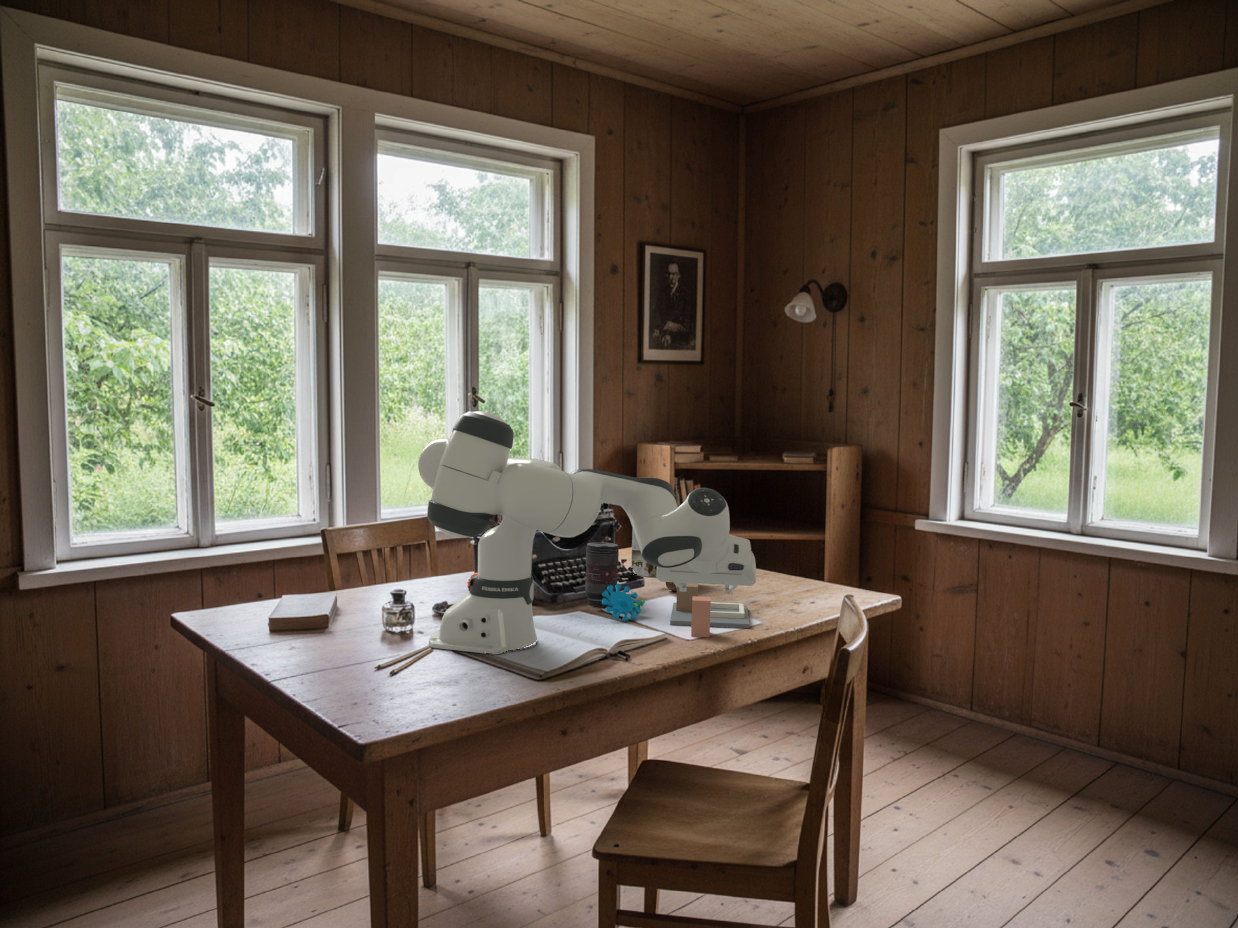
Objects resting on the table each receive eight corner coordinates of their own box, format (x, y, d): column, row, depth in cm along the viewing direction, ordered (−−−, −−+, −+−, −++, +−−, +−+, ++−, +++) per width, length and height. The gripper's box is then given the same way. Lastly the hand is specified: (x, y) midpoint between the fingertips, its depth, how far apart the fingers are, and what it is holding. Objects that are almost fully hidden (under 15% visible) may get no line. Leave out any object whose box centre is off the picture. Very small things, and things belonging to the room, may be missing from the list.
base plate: (670, 624, 214) (670, 594, 213) (673, 606, 231) (674, 578, 231) (749, 628, 212) (750, 598, 211) (746, 609, 230) (747, 581, 229)
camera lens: (621, 606, 231) (623, 546, 229) (590, 608, 228) (591, 547, 227) (611, 598, 238) (612, 540, 237) (581, 600, 236) (582, 541, 234)
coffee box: (649, 577, 266) (650, 521, 265) (630, 574, 270) (631, 519, 269) (665, 572, 274) (666, 517, 273) (646, 569, 278) (648, 515, 276)
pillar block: (691, 636, 204) (692, 600, 203) (691, 631, 208) (692, 596, 207) (709, 637, 204) (710, 601, 203) (709, 632, 208) (710, 597, 207)
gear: (607, 617, 213) (600, 580, 219) (597, 630, 217) (591, 594, 223) (650, 620, 217) (642, 584, 223) (640, 633, 221) (633, 597, 227)
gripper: (652, 561, 183) (654, 600, 194) (757, 566, 181) (754, 605, 191) (654, 535, 187) (657, 575, 198) (757, 540, 185) (754, 579, 195)
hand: (705, 589), depth 194 cm, fingers open, 8 cm apart
